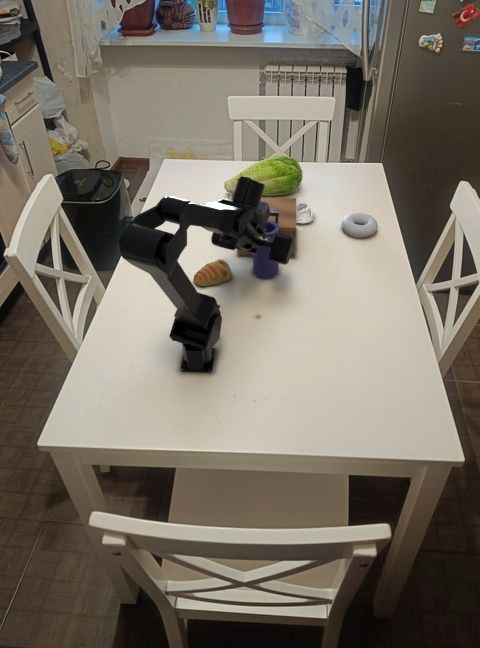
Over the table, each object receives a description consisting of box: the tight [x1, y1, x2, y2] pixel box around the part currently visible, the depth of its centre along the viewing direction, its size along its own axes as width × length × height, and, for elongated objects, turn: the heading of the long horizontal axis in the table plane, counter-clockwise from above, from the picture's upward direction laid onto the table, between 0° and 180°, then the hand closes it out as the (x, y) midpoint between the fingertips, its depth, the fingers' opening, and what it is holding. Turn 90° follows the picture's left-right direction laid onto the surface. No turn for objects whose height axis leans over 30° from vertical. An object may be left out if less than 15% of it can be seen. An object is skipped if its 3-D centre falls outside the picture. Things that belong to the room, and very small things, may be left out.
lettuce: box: [223, 155, 303, 197], centre depth 155 cm, size 12×24×13 cm
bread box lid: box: [260, 196, 297, 231], centre depth 130 cm, size 15×15×4 cm
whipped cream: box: [296, 201, 314, 225], centre depth 146 cm, size 8×7×5 cm
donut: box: [341, 212, 379, 239], centre depth 142 cm, size 10×4×10 cm
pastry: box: [193, 258, 233, 288], centre depth 125 cm, size 9×7×4 cm
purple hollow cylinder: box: [252, 221, 279, 280], centre depth 124 cm, size 6×6×13 cm
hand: (262, 249), depth 122 cm, fingers open, 9 cm apart
